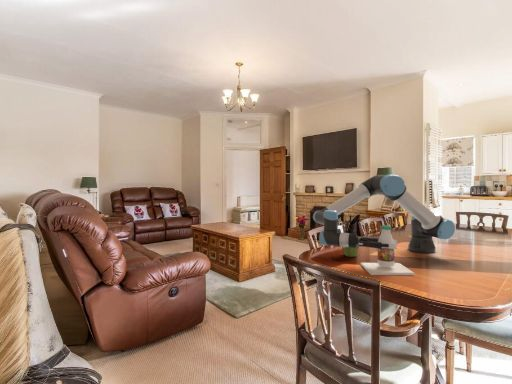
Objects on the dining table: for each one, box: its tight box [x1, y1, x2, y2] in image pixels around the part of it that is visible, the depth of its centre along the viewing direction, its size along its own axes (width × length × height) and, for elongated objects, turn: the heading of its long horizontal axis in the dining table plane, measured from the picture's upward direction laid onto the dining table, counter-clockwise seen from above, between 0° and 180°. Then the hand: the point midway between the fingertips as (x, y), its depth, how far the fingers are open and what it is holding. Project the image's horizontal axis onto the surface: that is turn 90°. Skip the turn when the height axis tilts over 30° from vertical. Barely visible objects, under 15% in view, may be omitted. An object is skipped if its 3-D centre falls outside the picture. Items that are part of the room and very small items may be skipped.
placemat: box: [360, 262, 415, 276], centre depth 142 cm, size 20×16×1 cm
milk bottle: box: [377, 224, 395, 267], centre depth 142 cm, size 8×8×20 cm
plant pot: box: [343, 235, 362, 258], centre depth 170 cm, size 12×12×11 cm
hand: (396, 244), depth 140 cm, fingers closed on milk bottle, 7 cm apart
